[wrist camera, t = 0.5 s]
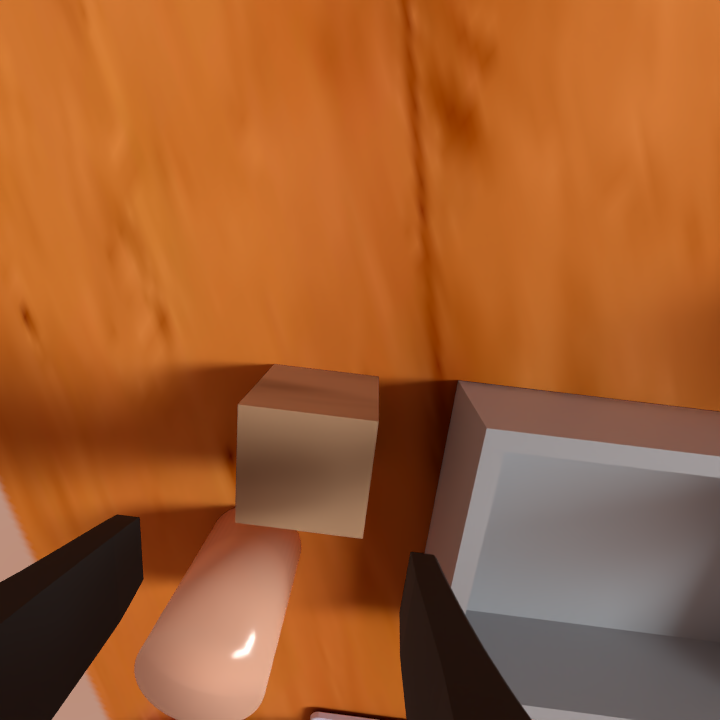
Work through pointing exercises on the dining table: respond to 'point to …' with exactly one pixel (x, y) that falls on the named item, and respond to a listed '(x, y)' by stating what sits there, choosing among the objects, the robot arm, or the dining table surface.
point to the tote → (586, 549)
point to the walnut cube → (307, 450)
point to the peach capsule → (221, 624)
